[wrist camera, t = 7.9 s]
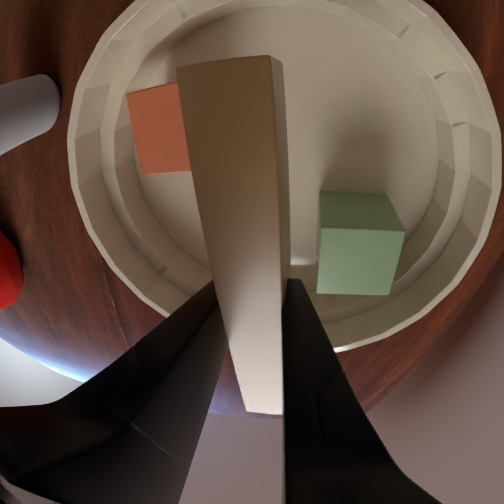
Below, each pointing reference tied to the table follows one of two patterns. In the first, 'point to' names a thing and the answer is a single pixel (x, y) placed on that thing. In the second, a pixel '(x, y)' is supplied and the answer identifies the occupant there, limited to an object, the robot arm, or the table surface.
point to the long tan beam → (243, 207)
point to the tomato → (9, 272)
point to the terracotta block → (159, 129)
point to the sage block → (357, 243)
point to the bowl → (299, 145)
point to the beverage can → (27, 109)
